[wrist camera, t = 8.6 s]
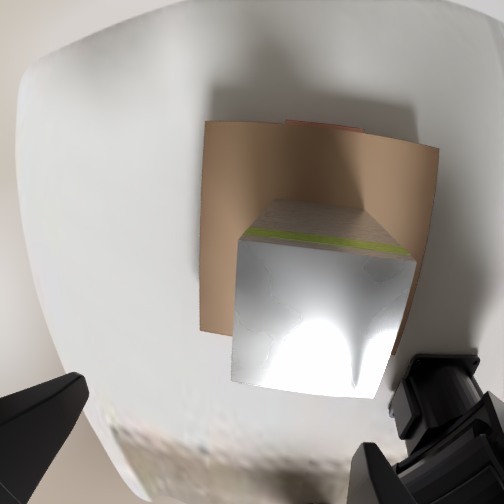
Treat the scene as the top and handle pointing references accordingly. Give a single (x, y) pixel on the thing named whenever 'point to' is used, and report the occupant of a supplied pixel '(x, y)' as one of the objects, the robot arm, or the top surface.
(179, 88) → the top surface
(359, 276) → the metal column
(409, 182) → the walnut riser
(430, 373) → the robot arm
